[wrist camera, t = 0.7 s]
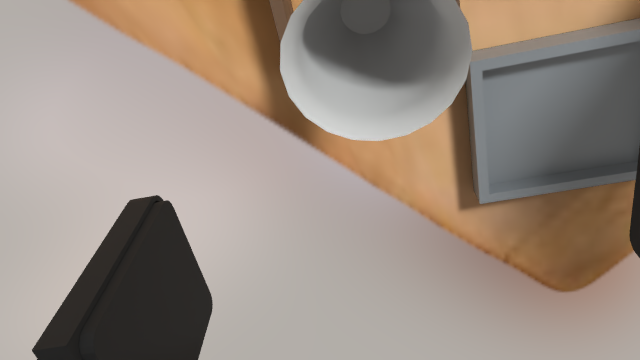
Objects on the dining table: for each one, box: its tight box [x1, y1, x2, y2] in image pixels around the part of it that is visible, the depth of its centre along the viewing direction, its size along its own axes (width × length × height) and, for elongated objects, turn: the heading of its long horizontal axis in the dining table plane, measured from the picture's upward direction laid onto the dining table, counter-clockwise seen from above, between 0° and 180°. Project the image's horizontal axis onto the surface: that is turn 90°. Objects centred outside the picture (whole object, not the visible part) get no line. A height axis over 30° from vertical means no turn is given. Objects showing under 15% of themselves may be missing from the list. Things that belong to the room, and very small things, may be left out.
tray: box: [465, 18, 640, 204], centre depth 38 cm, size 14×12×2 cm
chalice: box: [280, 0, 472, 141], centre depth 27 cm, size 7×7×18 cm
